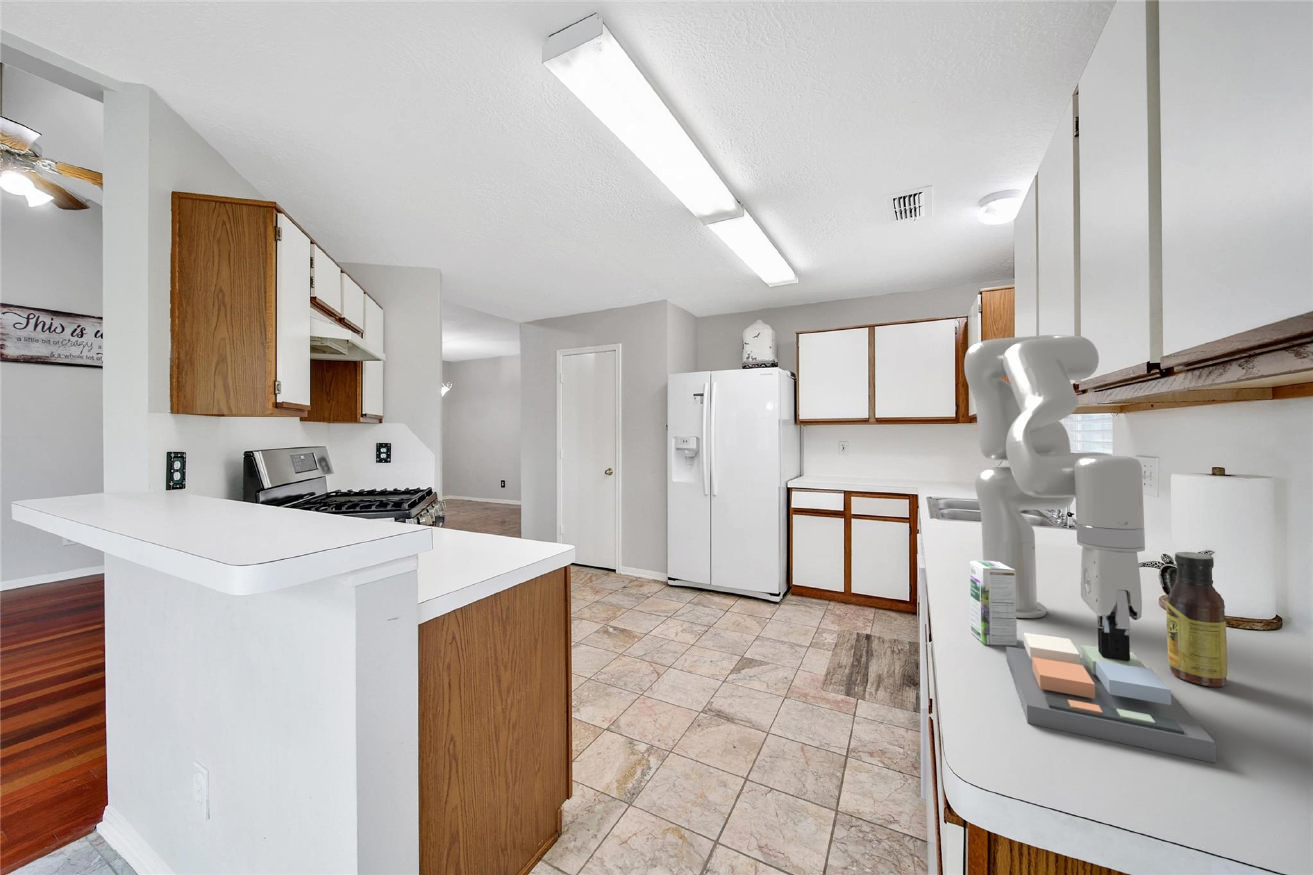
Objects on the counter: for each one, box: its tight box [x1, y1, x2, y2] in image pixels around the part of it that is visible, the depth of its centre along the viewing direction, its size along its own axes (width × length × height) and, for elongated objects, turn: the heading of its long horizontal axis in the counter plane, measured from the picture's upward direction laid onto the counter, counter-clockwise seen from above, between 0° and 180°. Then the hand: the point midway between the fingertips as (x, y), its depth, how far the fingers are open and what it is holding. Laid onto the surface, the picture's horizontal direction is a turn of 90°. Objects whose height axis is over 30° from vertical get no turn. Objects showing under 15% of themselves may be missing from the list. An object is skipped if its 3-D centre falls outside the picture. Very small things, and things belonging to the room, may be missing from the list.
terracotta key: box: [1032, 657, 1095, 699], centre depth 70 cm, size 6×6×2 cm
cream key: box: [1023, 632, 1081, 665], centre depth 77 cm, size 6×6×2 cm
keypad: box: [1005, 645, 1217, 764], centre depth 70 cm, size 20×18×3 cm
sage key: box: [1081, 644, 1147, 675], centre depth 73 cm, size 6×6×2 cm
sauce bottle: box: [1165, 551, 1228, 688], centre depth 75 cm, size 7×6×20 cm
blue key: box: [1096, 661, 1172, 705], centre depth 66 cm, size 6×6×2 cm
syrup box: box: [969, 560, 1018, 647], centre depth 92 cm, size 6×6×14 cm
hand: (1114, 657), depth 73 cm, fingers closed
